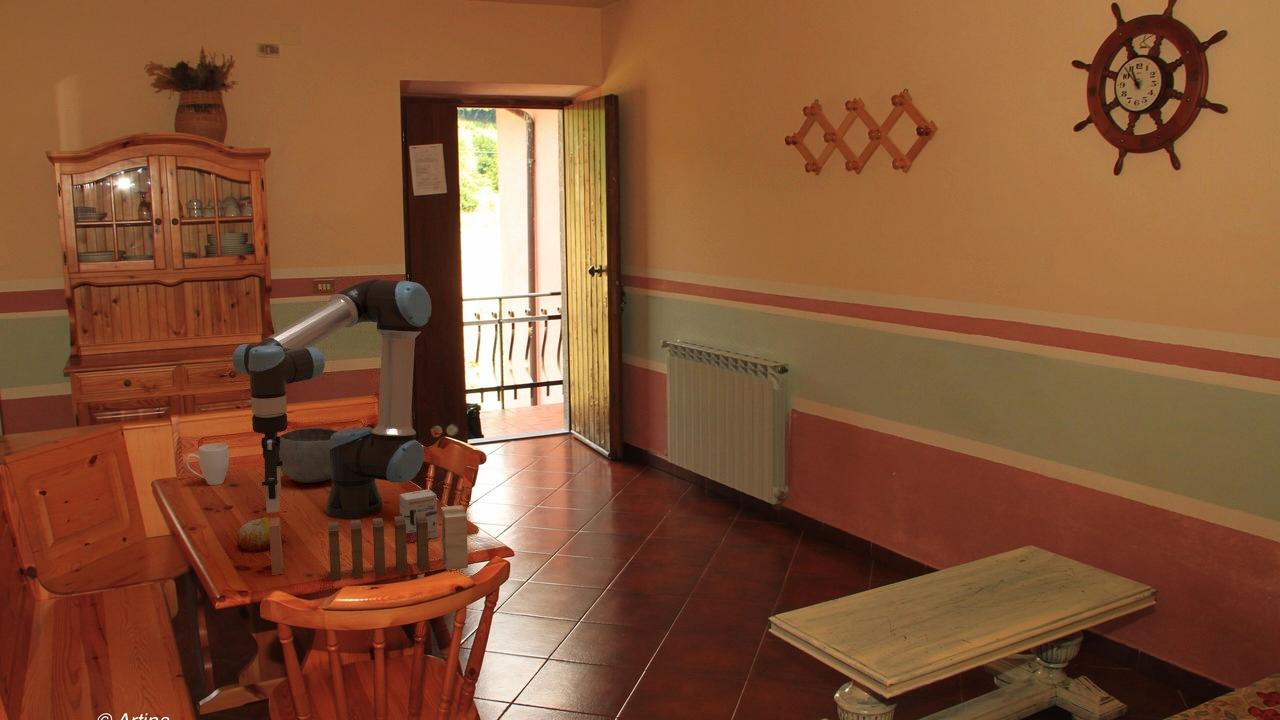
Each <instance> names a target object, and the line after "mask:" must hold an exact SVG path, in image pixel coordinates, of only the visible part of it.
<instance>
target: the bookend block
mask: <svg viewBox="0 0 1280 720" xmlns="http://www.w3.org/2000/svg"><path fill="white" fill-rule="evenodd" d="M440 510H441V515H440V516H441V545H442V546H441V549H442V550H441V551H442V561H443V564H444V566H445V570H446V571H451V570H459V569H461V570H463V569H468V568H469V566H468V565H469V563H468V562H469V561H468V517H467V516H468V515H467V514H466V513H467V512H466V511H465V508H464V506H463V505H462V504H461V505H450V506H441V509H440Z"/></svg>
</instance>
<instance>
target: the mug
mask: <svg viewBox="0 0 1280 720" xmlns="http://www.w3.org/2000/svg"><path fill="white" fill-rule="evenodd" d="M197 453H198V455H197V454H195V453H190V454H188V455H187V456H186V459H185V465H186V468H187V469H188V470H189V471H190V472H192V473H193V474H194V475H196V476H198V477H200V478H202V479H205V480H206V483H207V484H208V486H218V485H222V484H224V481H225V478H226V476H227V472H228V469H229V466H230V465H229V463H230V458H229V457H230V455H229V453H230V452H229V446H228V444H226V443H221V442H219V443H217V442H215V443H208V444H203V445H200V446H198V451H197ZM191 457H194V458H196V459H197V460H198V465H199V468H200V471H201V473H202V474H199V473H198V472H196V471H195V470H193V468H191V467H190V465H189V459H190V458H191Z"/></svg>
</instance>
